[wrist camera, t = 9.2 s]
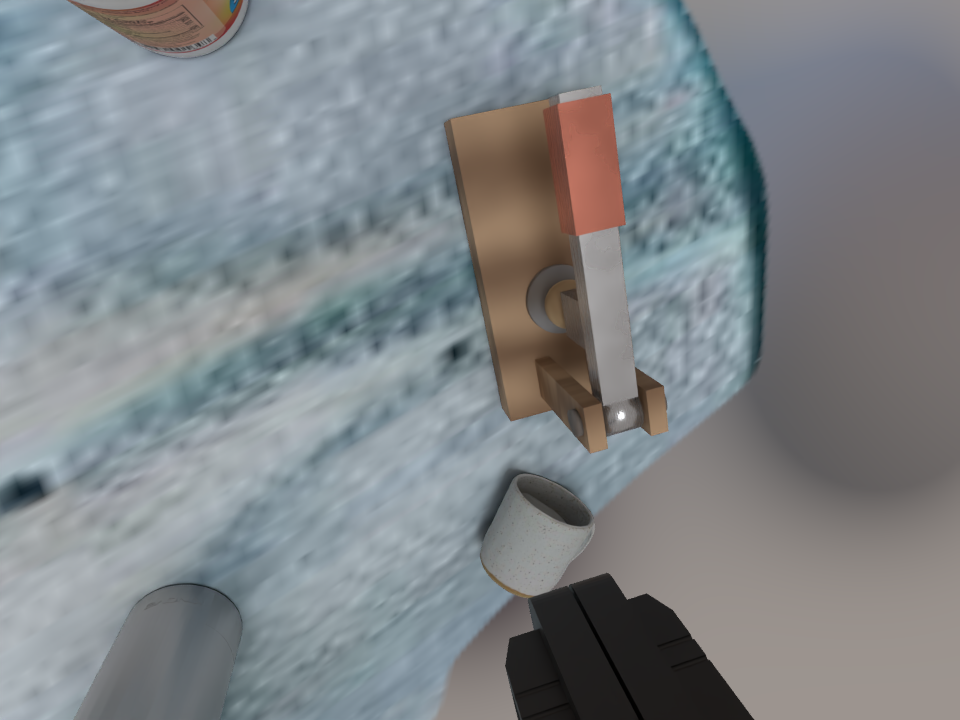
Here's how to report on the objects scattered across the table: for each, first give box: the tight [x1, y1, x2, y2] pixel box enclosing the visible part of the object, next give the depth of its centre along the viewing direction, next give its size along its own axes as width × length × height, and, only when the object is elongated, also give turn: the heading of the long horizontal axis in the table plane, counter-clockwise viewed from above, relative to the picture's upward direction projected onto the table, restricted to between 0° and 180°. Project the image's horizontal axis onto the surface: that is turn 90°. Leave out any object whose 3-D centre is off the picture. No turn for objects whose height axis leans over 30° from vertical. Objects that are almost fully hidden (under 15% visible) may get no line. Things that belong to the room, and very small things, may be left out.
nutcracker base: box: [444, 88, 668, 453], centre depth 40 cm, size 23×11×14 cm, turn 12°
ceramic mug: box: [480, 474, 595, 598], centre depth 50 cm, size 11×8×8 cm
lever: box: [543, 85, 644, 437], centre depth 37 cm, size 21×3×6 cm, turn 12°
